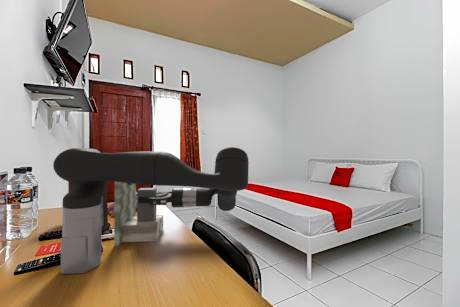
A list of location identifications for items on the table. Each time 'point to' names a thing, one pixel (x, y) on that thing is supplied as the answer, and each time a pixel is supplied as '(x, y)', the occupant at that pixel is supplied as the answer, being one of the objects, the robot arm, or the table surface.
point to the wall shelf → (132, 218)
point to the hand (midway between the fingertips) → (141, 197)
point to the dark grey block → (146, 205)
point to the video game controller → (112, 209)
